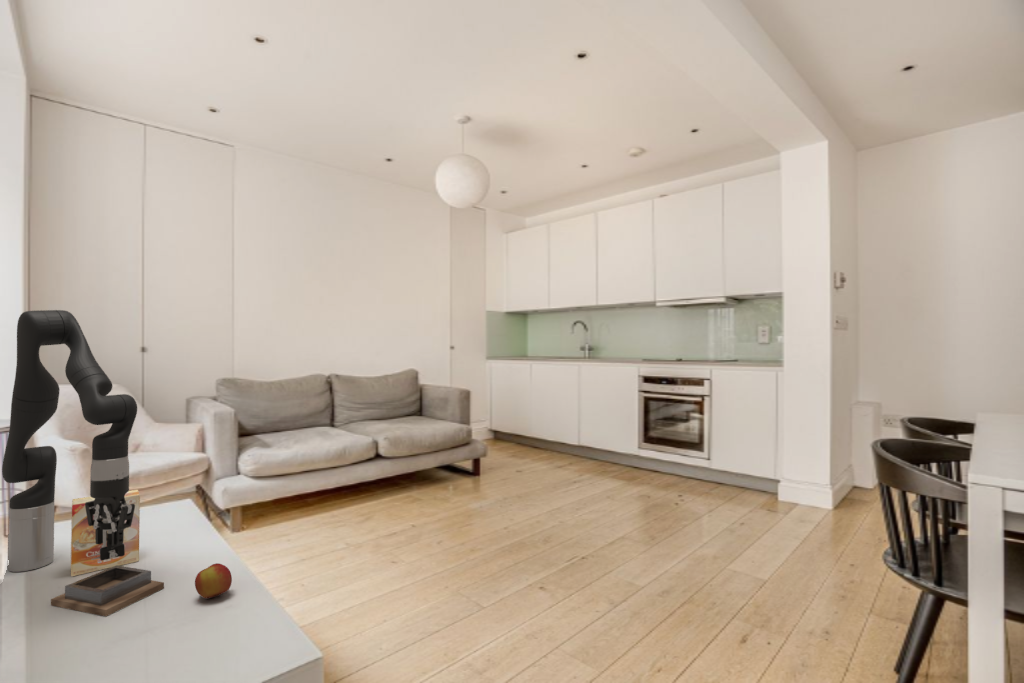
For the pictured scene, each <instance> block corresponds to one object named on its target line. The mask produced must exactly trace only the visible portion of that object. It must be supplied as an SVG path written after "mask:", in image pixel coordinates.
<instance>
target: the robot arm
mask: <svg viewBox="0 0 1024 683" xmlns="http://www.w3.org/2000/svg"><path fill="white" fill-rule="evenodd" d="M57 345H58V346H59V345H65V346H67V348H69V350H70V351H69V352H70V353H69V356H68V358H67V361H66V365H65V370H64V371H65V376H66V379H67V381H68V382H69V384H70V385H71V386H72V388H73V389H74V391H75V392H76V394H78V398H79V399H78V400H79V403H80V407H81V412H82V416H83V418H84V420H85V421H87V422H88V423H90V424H91V425H94V426H103V425H109V424H111V425H110V427H109V429H108V430H107V431H105V432H103V433H100V434H97V435H95V436H94V437H93V439H92V442H91V444H92V445H91V446H92V447H91V449H92V450H91V451H92V452H91V463H90V464H91V465H90V481H89V482H90V484H89V487H90V489H89V497H92V498H95V500H93V501H89V502H86V503H85V508H86V514H87V520H88V525H89V526H93V528H94V529H95V535H96V536H95V540H96V544H102V543H103V530H101V529H100V526H99V525H98V523H99V522H100V521H102V520H103V518H104V517H107V520H108V523H110V524H111V527H112V531H113V532H112V547H117V546H119V545H122V544H123V538H124V537H123V536H124V529H125V528H128V527H131V524H132V519H133V514H134V509H135V505H134V504H130V505H129V504H127V503H126V501H125V497H124V496H125V494H126V493H127V492H128V491H130V461H129V438H130V435H131V433H132V429H133V426H134V424H135V421H136V417H137V414H138V404H137V402H136V399H135V398H134V397H133V396H132V395H130V394H125V393H124V394H111V395H108V394H110V393H111V391H112V390H113V382H112V381H111V379H110V378H109V377H108V375H107V374H106V373H105V371H104V370H103V368H102V367H101V366H100V365H99V363H98V361H97V360H96V357H95V356H94V354H93V352H92V350H91V348H90V344H89V343H88V341H87V338H86V336H85V335H84V332H83V330H82V327H81V326H80V324H79V322H78V320H77V319H76V317H75V316H74V314H73V313H71V311H70V312H69V311H68V310H61V309H58V310H57V309H54V310H53V309H51V310H50V309H49V310H47V309H45V310H42V309H41V310H27V311H23V312H22V313H21V314H20V315H19V318H18V320H17V325H16V368H15V377H14V383H13V390H12V396H11V402H10V403H11V406H10V418H9V419H10V420H9V421H10V422H9V429H8V436H7V441H6V446H5V450H4V454H3V460H2V466H1V475H2V478H3V480H4V482H6V483H8V484H17V483H25V482H31V481H37V482H36V483H35V484H33V485H32V486H30V487H29V488H27V489H25V490H24V491H21V492H18V493H16V494H14V495H12V496H11V497H10V498H9V512H8V513H9V514H8V515H9V519H8V520H9V524H8V525H9V526H8V527H9V528H8V529H9V530H8V531H9V532H8V534H7V561H8V560H9V565H8V564H7V568H8V571H10V572H12V573H13V572H14V573H18V572H20V573H21V572H27V571H31V570H35V569H36V570H37V569H39V568H43V567H46V566H48V565H50V564H52V563H53V562H54V560H55V559H54V558H55V556H54V555H55V494H56V493H55V492H56V476H57V475H56V473H57V461H58V460H57V459H58V457H57V452H56V449H55V448H54V446H51V445H44V446H43V445H42V446H33V447H26V446H27V444H28V443H29V440H30V439H31V438H32V437H33V435H35V433H36V432H38V430H39V429H42V427H43V426H44V425H45V424H47V422H48V421H49V420H51V418H52V417H53V416H54V415H55V414H56V412H57V409H58V404H59V398H60V386H59V383H58V382H57V381H56V379H55V377H54V376H53V375H52V374H51V373H50V372H49V371H48V369H47V368H46V367H45V365H43V363H42V361H41V359H40V357H41V356H40V348H41V347H43V346H57ZM94 514H95V515H94ZM93 515H94V520H93ZM119 515H120V516H119ZM116 516H119V517H118V518H113V517H116ZM125 520H127V521H126V523H125ZM116 521H119V523H118V526H117V524H116ZM106 541H107V531H106Z"/></svg>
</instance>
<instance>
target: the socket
mask: <svg viewBox="0 0 1024 683" xmlns="http://www.w3.org/2000/svg"><path fill="white" fill-rule="evenodd" d="M113 580H121V581H122V582H120V583H117V584H115V585H113V586H111V587H108V588H106V589H104V590H102V589H96V587H99V586H101V585H103V584H106V583H108V582H110V581H113ZM151 580H152V571H151V570H148V569H147V570H146V569H141V568H135V567H129V566H124V565H120V566H118V565H116V566H114V567H111V568H107V569H103V570H102V571H101V570H100V572H97V573H94V574H92V575H89V576H87V577H85V578H82V579H79V580H77V581H74V582H72V583H70V584H67V585H64V593H65V599H69V600H74V601H79V602H84V603H89V604H95V605H100V606H102V605H104V604H106V603H108V602H111V601H113V600H115V599H117V598H119V597H121V596H123V595H126V594H128V593H130V592H132V591H134V590H136V589H139V588H141V587H143V586H145V585H147V584H149V583H151Z"/></svg>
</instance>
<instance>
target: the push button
mask: <svg viewBox="0 0 1024 683" xmlns="http://www.w3.org/2000/svg"><path fill="white" fill-rule="evenodd" d="M119 516H120V515H119ZM119 516H116V517H113V518H118V517H119ZM118 523H119V521H116V524H117V526H118ZM98 525H99V526H100V529H101V530H103V545H102V548H100V553H98V554H95V555H91V556H96V555H100V557H97V558H94V559H91V560H95V559H100V560H106V559H110V558H115V557H119V556H124V555H125V546H124V544H122V545H119V546H117V547H112V532H113V531H112V527H111V524H110V523H108V520H107V517H104V518H103V520H102V521H100V522H99V523H98ZM106 531H108V533H107V547H106Z"/></svg>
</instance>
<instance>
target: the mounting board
mask: <svg viewBox="0 0 1024 683" xmlns="http://www.w3.org/2000/svg"><path fill="white" fill-rule="evenodd" d="M120 582H122V581H121V580H113V581H110V582H108V583H106V584H103V585H101V586H99V587H96V589H102V590H104V589H106V588H108V587H111V586H113V585H115V584H117V583H120ZM164 589H165V582H163V581H158V580H157V581H156V580H153V579H151V583H149V584H147V585H145V586H143V587H141V588H139V589H136V590H134V591H132V592H130V593H128V594H126V595H123V596H121V597H119V598H117V599H115V600H113V601H111V602H108V603H106V604H104V605H102V606H100V605H95V604H89V603H84V602H79V601H74V600H69V599H65V592H64V593H62V594H60V595H58V596H55V597H53V598H52V597H51V598H50V606H51V607H52V606H53V607H57V608H62V609H67V610H72V611H77V612H81V613H86V614H92V615H97V616H102V617H108V616H111V615H113V614H114V613H117V612H118V611H120V610H122V609H124V608H127V607H128V606H130V605H131V606H132V605H133V604H134V603H137V602H138V601H141V600H144V599H145V598H147V597H149V596H151V595H153V594H155V593H157V592H159V591H162V590H164Z"/></svg>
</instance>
